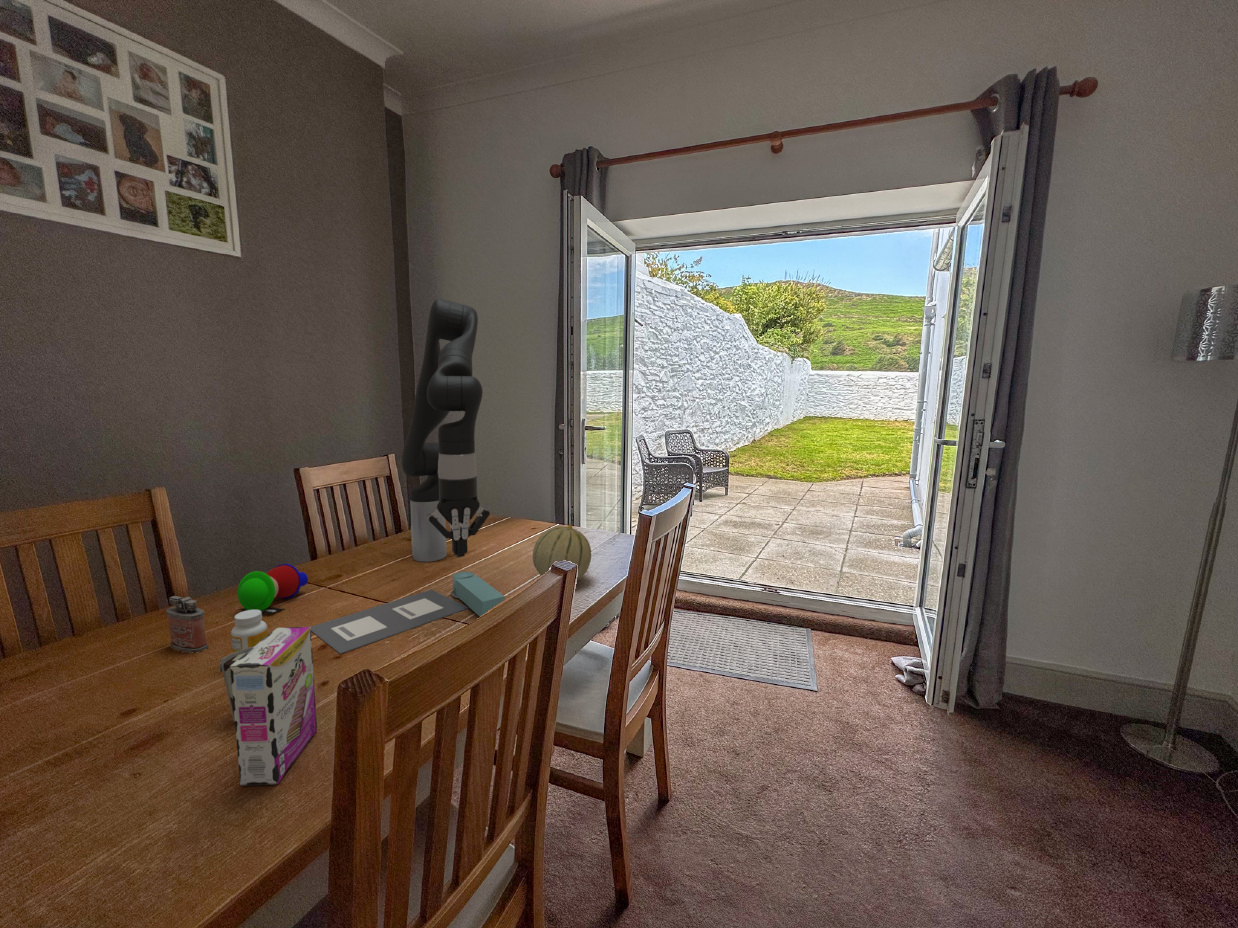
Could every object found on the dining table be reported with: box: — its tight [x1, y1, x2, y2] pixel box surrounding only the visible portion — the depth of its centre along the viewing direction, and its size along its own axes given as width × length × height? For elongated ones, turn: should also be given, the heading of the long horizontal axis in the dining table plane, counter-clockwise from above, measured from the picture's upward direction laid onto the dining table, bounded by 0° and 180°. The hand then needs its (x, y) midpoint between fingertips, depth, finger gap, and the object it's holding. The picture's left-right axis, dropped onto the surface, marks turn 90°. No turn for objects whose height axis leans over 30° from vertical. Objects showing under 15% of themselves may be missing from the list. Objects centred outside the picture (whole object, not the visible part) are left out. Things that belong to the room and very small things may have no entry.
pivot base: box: [450, 590, 461, 600], centre depth 131 cm, size 6×6×1 cm
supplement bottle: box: [230, 610, 269, 653], centre depth 97 cm, size 5×5×10 cm
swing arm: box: [452, 571, 506, 617], centre depth 125 cm, size 5×20×4 cm, turn 37°
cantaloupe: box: [532, 523, 592, 581], centre depth 138 cm, size 15×15×15 cm
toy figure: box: [237, 563, 309, 615], centre depth 124 cm, size 9×10×15 cm
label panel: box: [310, 589, 470, 655], centre depth 118 cm, size 16×28×1 cm, turn 139°
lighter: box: [165, 595, 209, 654], centre depth 103 cm, size 8×3×10 cm, turn 71°
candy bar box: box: [230, 626, 318, 787], centre depth 73 cm, size 11×5×16 cm, turn 5°
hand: (460, 555), depth 114 cm, fingers closed
